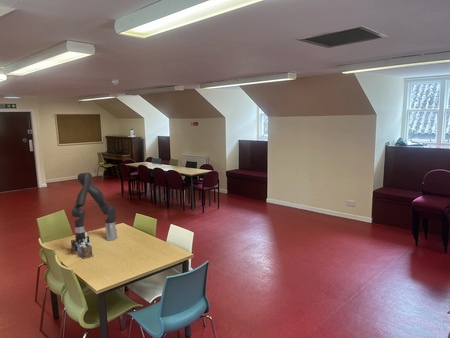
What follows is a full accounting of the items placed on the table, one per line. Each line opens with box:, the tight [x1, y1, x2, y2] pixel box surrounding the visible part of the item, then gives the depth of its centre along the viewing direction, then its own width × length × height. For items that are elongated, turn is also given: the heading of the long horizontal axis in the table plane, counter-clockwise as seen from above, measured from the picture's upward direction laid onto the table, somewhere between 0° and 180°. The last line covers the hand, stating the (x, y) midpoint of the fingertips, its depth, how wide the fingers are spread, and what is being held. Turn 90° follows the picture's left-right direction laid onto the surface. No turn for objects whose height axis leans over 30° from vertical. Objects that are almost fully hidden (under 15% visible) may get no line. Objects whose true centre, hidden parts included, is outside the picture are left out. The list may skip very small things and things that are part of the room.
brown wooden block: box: [70, 239, 94, 260], centre depth 280 cm, size 8×29×9 cm, turn 46°
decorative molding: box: [82, 230, 93, 247], centre depth 310 cm, size 34×5×10 cm
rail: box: [77, 243, 87, 253], centre depth 280 cm, size 4×22×6 cm, turn 46°
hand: (81, 249), depth 280 cm, fingers open, 8 cm apart
